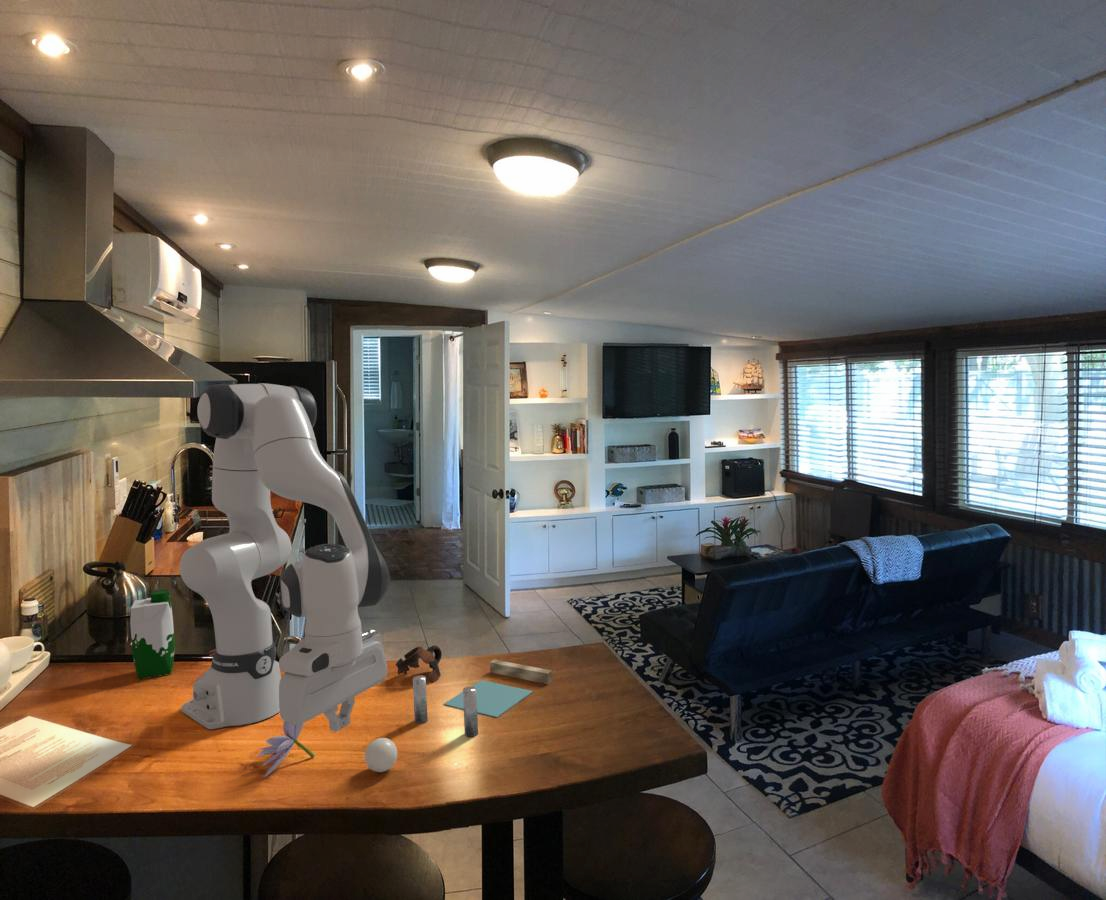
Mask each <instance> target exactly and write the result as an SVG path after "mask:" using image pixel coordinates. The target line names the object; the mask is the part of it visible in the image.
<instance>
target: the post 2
mask: <svg viewBox="0 0 1106 900" xmlns="http://www.w3.org/2000/svg"><path fill="white" fill-rule="evenodd" d="M462 692H463V704H464V710H463V722H464V723H463V727H464V736H465V737H466V738H474V737H477V736H479V735H478V734H479V723H478V721H479V720H478V719H479V718H478V713H477V692H476V688H475V687H471V686H466V687H464V688H462Z"/></svg>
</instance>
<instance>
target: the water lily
mask: <svg viewBox="0 0 1106 900" xmlns="http://www.w3.org/2000/svg"><path fill="white" fill-rule="evenodd" d="M304 724H305V723H303V724H301V725H294V724H290V723H287V722H285V721H284V720H283V724H282V729H283V734H282V733H281V734H280V735H277V736H273V737H270V738H268V739H266V740H265V743H266V744H268V745H270V746H266V747H262V748H260V749H258V750H260V752H259V753H258V754H257V757H263V756H268V755H271V754H273V755H271V757H269V758H268V759H267V760H266V761H265V762H264V763H263V765H262V767H264V766H266V765H268V764H270V763H272V762H273V764H272V765H270V767H269V768H268V770H267V771H266V774H264V778H267V777H268V776H269V775H270V774H271V773H272V772H274V771H275V769H277V768H278V766H279V765H280V764H281V763H283V761H284V760H285V758H287V756H288V755H289V753H290V752H291V750H292V748H293V747H294V745H297V746H298V747H299V748H300V749H301V750H303V751H304V752H305V753H306V754H307V755H308V756H309V757H310V758H311V759H314V757H315V756H316V755H315V753H313V752H312V751H311V750H310V749H309V748H308V747H306V746H305V745H304V744H303V743H301V742H300V741H298V738H299V736H300V734H301V731H302V730H303V728H304Z"/></svg>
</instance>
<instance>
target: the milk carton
mask: <svg viewBox="0 0 1106 900" xmlns="http://www.w3.org/2000/svg"><path fill="white" fill-rule="evenodd" d="M171 599H172V598H171V596H170V591H169V590H168V589H159V590H156V591H152V592H150V597H147V598H145V599H144V598H143V599H135V600H134V601H133V603H132V605H131V607H130V622H129V623H130V634H131V636H130V637H131V647H132V649H131V651H132V659H133V664H134V669H135V672H136V676H137V680H138V679H140V680H144V679H143V678H146V679H149V678H148V677H152V678H155V677H154V676H158V677H160V676H159V675H164V676H166V675H165V674H169V675H171V674H172V673H171V672H173V667H174V661H175V649H176V644H175V643H176V641H175V631H174V616H173V608H172V602H171V601H172V600H171ZM170 673H171V674H170Z"/></svg>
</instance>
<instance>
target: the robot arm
mask: <svg viewBox="0 0 1106 900" xmlns="http://www.w3.org/2000/svg"><path fill="white" fill-rule="evenodd" d="M199 396H200V397H199V400H198V403H197V418H198V421H199V426H200V428H201V430H202V431H203V432H205V434H206V435H208V436H210V437H212V438H215V443H214V449H213V457H212V484H211V485H212V487H211V502H212V504H213V506H214V507H215V508H216V509H217V510H218V511H220V512H221V513H223V514H225V515H226V517H227V520H228V524H229V531H228V533H223V534H219V535H216V536H212V537H208V538H205V539H204V540H201V541H200V542H197V543H195V544H194V545H192V546H191V547H188V548H187V549H185V551H184V552H183V554H182V556H181V558H180V562H179V573H180V577H181V579H182V581H183V582H184V584H185V585H186V586H187V587H188V589H190V590H192V591H193V592H195V593H197V594H198V595H200V596H201V597H202V598H203V599H204V601H205V602H206V605H207V606H208V608H209V610H210V613H211V615H212V621H213V627H214V628H213V629H214V630H213V631H214V639H215V647H216V648H215V649H212V650H210V651H208V653H210V654H209V656H208V657H212V659H211V660H212V661H211V666H210V667H209V668H208V669H206V671H205V672H204V673H203V674H202V675H201V676H199V677H198V678H197V679H196V680H195V681H194V683H193V685H192V686H193V687H192V698H191V699H190V700H188V701H187V702H185V703H184V704H182V705H181V707H180V708H181V709H180V710H181V712H182V713H183V714H185V715H186V716H188V717H189V718H191V719H193V720H194V721H195V722H197V723H199V724H200V725H201V726H203V727H204V728H206V729H208V730H216V729H221V728H225V727H232V726H233V727H235V726H244V725H250V724H253V723H254V724H255V723H257V722H261V721H264V720H265V719H268V718H271V717H273V716H274V715H277V714H278V713H279V715H280V718H281V719H282V720H283V722H284V721H285V722H287V723H290V724H294V725H301V724H303V723H304V724H305V723H306V722H308V721H310V720H313V719H314V718H316V717H318V716H321V715H322V714H323V715H324V716H325V718H326V719H327V720H328V723H329V724H328V725H329V729H330V731H332V732H335V733H337V732H339V731H341V730H342V729H343V728H346V727H347V726H349V725H351V714H352V711H353V708H354V705H355V703H356V701H355V700H356V699H355V697H356V696H358V695H360V694H362V693H363V692H366V691H367V690H370V688H373V687H374V686H378V684H381V683H382V682H384V681H386V679H387V675H388V665H387V660H386V653H385V650H384V646H383V644H382V643H383V642H382V635H381V633H380V632H379V631H377V630H375V629H373V628H372V629H369V630H367V631H365V632H362V631H363V630H362V620H361V619H360V615H359V609H358V608H365V607H366V608H367V607H373V606H376V605H377V604H378V603H380V602H381V600H382V599H383V597H384V596H386V594H387V592H388V591H389V588H390V586H391V576H390V575H391V574H390V571H389V568H388V564H387V562H386V560H385V558H384V557H383V554H382V553H381V552H380V550H379V549H378V547H377V545H376V543H375V541H374V539H373V536H372V534H371V531H370V529H369V527H368V525H367V523H366V520H365V518H364V515H363V514H362V511H361V509H360V506H359V504H358V502H357V499H356V498H355V496H354V494H353V492H352V489H351V487H350V485H349V483H348V481H347V480H346V478H345V476H344V475H343V473H342V472H340V471H338V470H335V469H334V468H332V467H331V466H330V465H329V464H328V462H327V461H326V460H325V459H324V458H323V457H324V456H322V454H321V453H320V449H319V447H318V442H317V439H316V436H315V432H314V429H313V428H314V427H315V426H316V422H317V416H318V409H317V402H316V399H315V397H314V395H313V394H312V393H311V392H310V390H308V389H307V388H304V387H300V386H296V385H290V386H286V385H280V384H274V383H263V382H262V383H261V382H258V383H238V384H237V383H236V384H227V383H218V384H217V383H216V384H212V385H209V386H207V387H205V389H204V390H203V391H202V392H201V394H200V395H199ZM271 492H272V493H274V494H275V495H277V496H280V497H281V498H285V499H286V500H287V499H288V500H290V501H296V502H302V503H307V504H310V505H314V506H316V507H319V508H321V509H323V510H325V511H326V512H328V513H329V514H330V515H331V516H332V518H333V519H334V521H335V524H336V525H337V528H338V531H339V533H340V535H341V538H342V541H343V543H344V545H342V544H335V543H334V544H333V543H322V544H318V545H315V546H311V547H309V548H308V549H307V550H305V551H304V552H303V554H302V557H301V559H299V560H298V561H295V562H292V563H290V564H289V565H288V566H287V567H286V568H285V569H284V570H283V572H282V573H281V575H280V576H279V579H278V580H279V582H278V583H279V584H278V585H279V595H280V603H281V604H280V605H281V608H282V609H283V610H284V611H286V612H287V613H289V614H291V615H292V616H294V617H296V618H304V619H305V625H304V637H303V638H302V639H300V640H299V642H297V643H296V644H295V645H294V646H293V647H292V648H291V649H290V650H289V651H287V652H285V654H283V655H282V656H281V657H280V658H279V661H277V659H276V658H277V653H276V652H277V648H276V647H277V646H276V644H275V643H276V642H275V641H274V640H273V626H272V625H273V624H272V612H271V608H270V606H269V604H268V603H267V602H265V601H264V600H261V599H259V598H257V597H256V596H255V594H254V591H253V587H252V581H253V580H255V579H259V578H261V577H264V576H267V575H269V574H272V573H274V572H275V571H277V570H278V569H280V568H281V567H283V566H284V565H285V564H287V562H288V561H289V559H290V558H291V556H292V547H293V546H292V540H291V539H290V537H289V535H288V533H287V532H286V531H285V530H284V529H283V528H282V527H280V525H279V524H278V523H277V521H276V518H275V516H274V512H273V509H272V505H271V504H272V503H271V502H272V501H271ZM281 671H282V672H284V673H283V674H282V676H281ZM339 705H340V710H339V707H338V706H339ZM338 711H339V714H337V713H336V712H338ZM304 724H303V725H304Z"/></svg>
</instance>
